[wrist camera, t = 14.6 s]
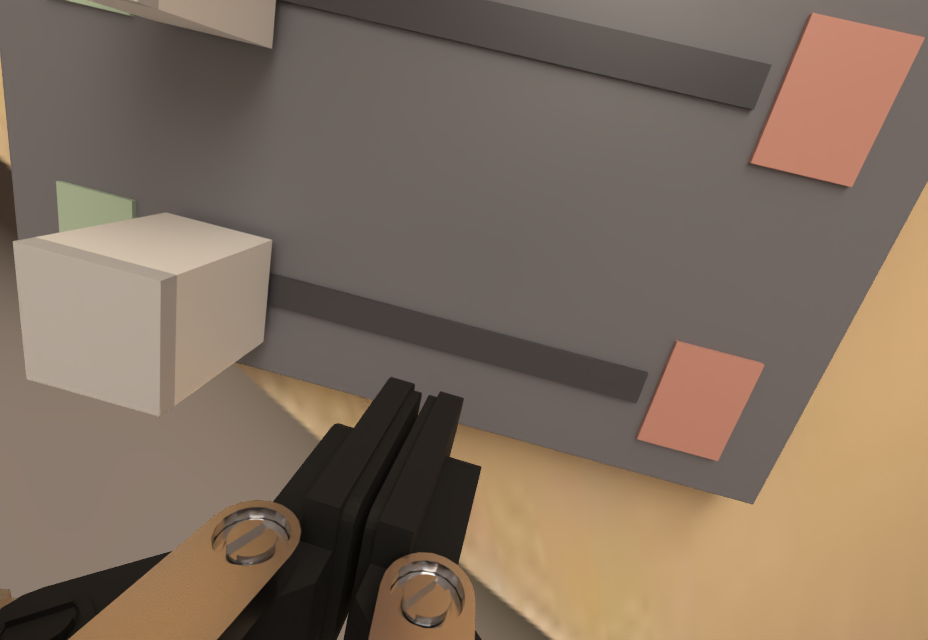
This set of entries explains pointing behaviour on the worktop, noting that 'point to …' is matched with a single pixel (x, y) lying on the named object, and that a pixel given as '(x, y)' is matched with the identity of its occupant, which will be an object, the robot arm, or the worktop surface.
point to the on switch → (209, 16)
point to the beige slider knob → (140, 307)
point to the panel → (513, 196)
